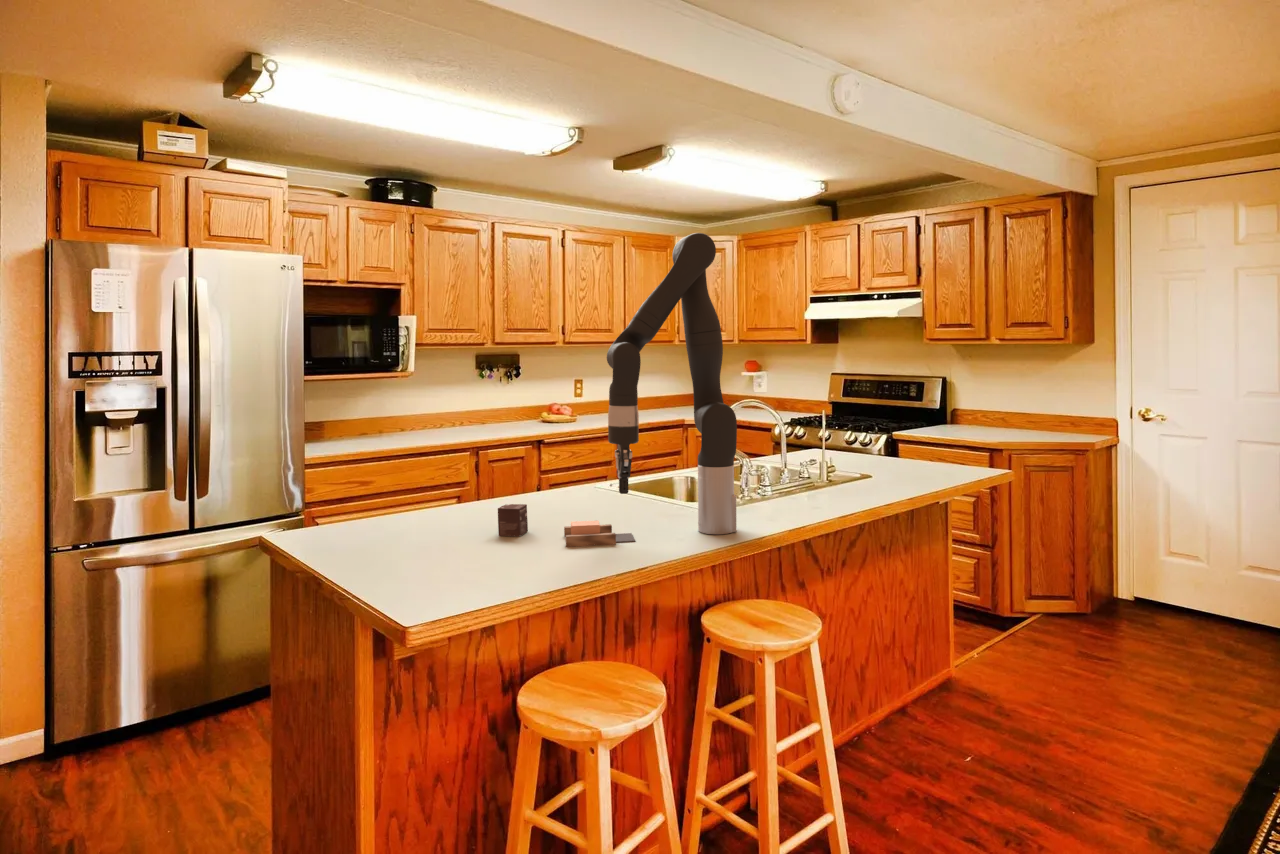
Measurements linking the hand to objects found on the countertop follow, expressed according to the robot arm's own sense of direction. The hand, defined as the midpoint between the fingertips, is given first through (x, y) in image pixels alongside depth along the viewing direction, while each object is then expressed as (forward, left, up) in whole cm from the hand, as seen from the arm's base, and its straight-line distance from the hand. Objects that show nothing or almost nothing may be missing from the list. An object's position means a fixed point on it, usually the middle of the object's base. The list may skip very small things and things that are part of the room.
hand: (623, 493), depth 188 cm
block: (+10, 0, -12) cm, 15 cm away
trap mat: (0, 0, -12) cm, 12 cm away
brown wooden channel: (+9, 0, -12) cm, 14 cm away
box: (+28, -11, -12) cm, 32 cm away
